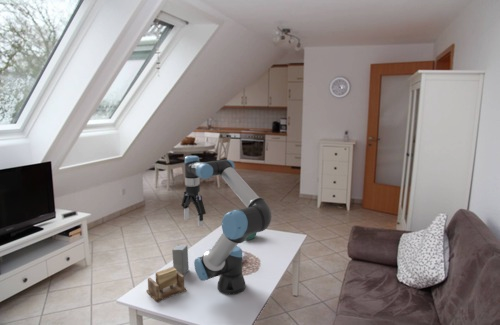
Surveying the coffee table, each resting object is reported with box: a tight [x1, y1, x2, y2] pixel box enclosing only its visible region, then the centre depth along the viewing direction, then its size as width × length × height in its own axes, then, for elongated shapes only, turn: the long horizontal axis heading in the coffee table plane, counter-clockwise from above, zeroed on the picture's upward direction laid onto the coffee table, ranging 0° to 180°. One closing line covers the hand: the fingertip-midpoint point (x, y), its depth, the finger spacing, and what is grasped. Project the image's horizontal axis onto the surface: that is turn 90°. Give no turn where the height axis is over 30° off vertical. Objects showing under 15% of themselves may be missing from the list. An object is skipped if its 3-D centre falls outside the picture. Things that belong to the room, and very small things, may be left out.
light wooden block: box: [155, 266, 177, 290], centre depth 178 cm, size 4×10×8 cm, turn 131°
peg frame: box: [146, 270, 187, 303], centre depth 179 cm, size 12×17×8 cm
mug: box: [246, 233, 257, 240], centre depth 248 cm, size 17×13×10 cm
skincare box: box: [171, 244, 190, 277], centre depth 198 cm, size 8×7×16 cm
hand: (193, 222), depth 183 cm, fingers open, 13 cm apart
